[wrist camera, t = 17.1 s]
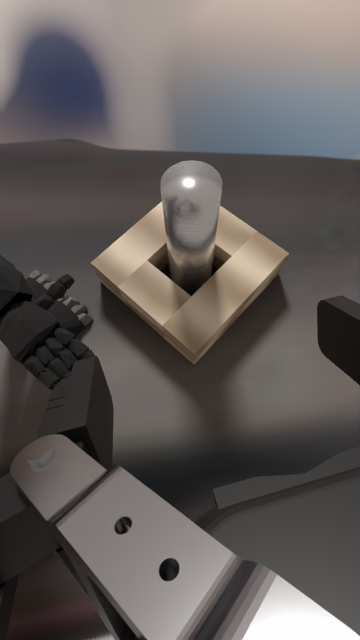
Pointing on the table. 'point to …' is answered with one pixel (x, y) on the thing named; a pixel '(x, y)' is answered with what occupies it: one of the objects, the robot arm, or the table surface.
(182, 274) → the pin
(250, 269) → the socket
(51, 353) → the toy
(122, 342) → the table surface
